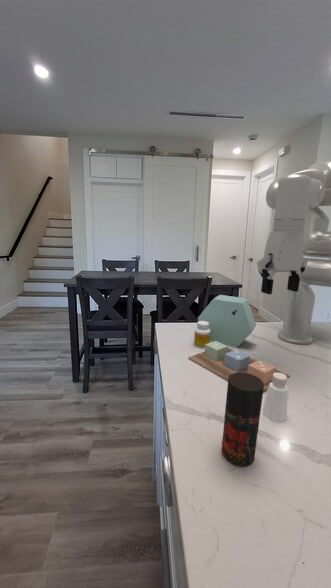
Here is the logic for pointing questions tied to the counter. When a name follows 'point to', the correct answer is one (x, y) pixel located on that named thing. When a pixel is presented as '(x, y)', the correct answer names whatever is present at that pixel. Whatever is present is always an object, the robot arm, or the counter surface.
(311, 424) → the counter surface
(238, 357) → the tile two
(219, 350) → the tile one
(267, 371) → the tile three
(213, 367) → the board
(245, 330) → the mint hexagonal clock
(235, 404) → the deodorant
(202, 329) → the supplement bottle
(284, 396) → the pepper shaker
